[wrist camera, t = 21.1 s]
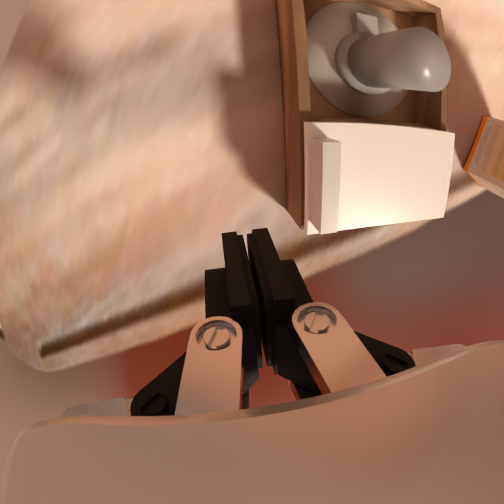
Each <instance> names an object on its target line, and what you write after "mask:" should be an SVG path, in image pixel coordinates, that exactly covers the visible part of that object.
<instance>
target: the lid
mask: <svg viewBox="0 0 504 504" xmlns="http://www.w3.org/2000/svg"><path fill="white" fill-rule="evenodd" d="M454 141H455V133H452V132H448V131H442V130H435V129H428V128H420V127H412V126H402V125H391V124H378V123H360V122H304V158H305V212H304V231H305V232H306V234H307V235H309V234H316V233H320V234H326V233H334V232H337V231H339V230H347V229H355V228H363V227H370V226H378V225H386V224H394V223H402V222H410V221H419V220H427V219H435V218H443V217H444V212H445V207H446V202H447V196H448V190H449V184H450V177H451V169H452V161H453V152H454Z"/></svg>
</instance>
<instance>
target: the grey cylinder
mask: <svg viewBox="0 0 504 504" xmlns="http://www.w3.org/2000/svg"><path fill="white" fill-rule="evenodd" d="M351 24H352V34H350V35H348V36H346V37H344V38H343V39H342V40H341V41H340V42H339V44H338V46H337V48H336V51H335V64H336V68H337V71H338V73H339V75H340V77H341V78H342V80H343V81H344V82H345V83H346V84H347V85H348V86H349V87H350V88H351V89H353V90H355V91H357V92H359V93H362V94H372V95H377V94H382V93H385V92H386V91H388V90H389V89H390V88H392V89H407V90H418V91H428V92H438V91H441V90H442V89H444V88H445V87H446V86H447V84H448V82H449V80H450V77H451V60H450V56H449V53H448V50H447V48H446V46H445V45H444V43H443V42H442V40H441V39H440V38H439V37H438V36H437V35H436V34H435V33H434V32H433V31H431V30H430V29H427V28H425V27H412V28H406V29H401V30H396V31H391V32H386V33H382V34H379V31H378V21H377V17H374V16H370V15H366V14H361V13H357V12H356V13H354V14H351Z"/></svg>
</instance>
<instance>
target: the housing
mask: <svg viewBox="0 0 504 504" xmlns="http://www.w3.org/2000/svg"><path fill="white" fill-rule="evenodd" d="M275 3H276V14H277V26H278V38H279V52H280V66H281V82H282V100H283V120H284V145H285V176H286V210H287V211H288V213H289V214H290V215H291V217H292V218H293V219H294V221H295V222H296V223H297V225H298V226H299V228H300V229H304V212H305V158H304V122H360V123H378V124H391V125H402V126H412V127H420V128H428V129H435V130H442V131H446V126H447V86H446V87H445V88H444V89H442V90H441V91H438V92H428V91H418V90H407V89H392V88H390V89H389V90H388V91H386V92H385V93H382V94H377V95H372V94H362V93H359V92H357V91H355V90H353V89H351V88H350V87H349V86H348V85H347V84H346V83H345V82H344V81H343V80H342V78H341V77H340V75H339V73H338V71H337V68H336V64H335V51H336V48H337V46H338V44H339V42H340V41H341V40H342V39H343V38H344V37H346V36H348V35H350V34H352V24H351V14H354V13H356V12H357V13H361V14H366V15H370V16H374V17H377V21H378V31H379V34H382V33H386V32H391V31H396V30H401V29H406V28H412V27H425V28H427V29H430V30H431V31H433V32H434V33H435V34H436V35H437V36H438V37H439V38H440V39H441V40H442V42H443V43H444V45H445V39H444V30H443V22H442V15H441V9H440V8H438V7H436V6H434V5H432V4H429V3H427V2H425V1H422V0H275Z"/></svg>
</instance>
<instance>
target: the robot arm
mask: <svg viewBox="0 0 504 504" xmlns="http://www.w3.org/2000/svg"><path fill="white" fill-rule="evenodd" d="M222 241H223V250H224V259H225V268H219V269H211V270H205V310H206V319H204V320H202V321H201V322H199V323H198V324H197V325H196V326H195V327H194V328H193V329H192V332H191V334H190V338H189V344H188V348H187V351H186V352H185V353H184V354H183V355H182V356H181V357H179V358H178V359H177V360H176V361H175V362H174V363H173V364H171V365H170V366H169V367H168V368H167V369H165V370H164V371H163V372H162V373H161V374H159V375H158V376H157V377H156V378H155V379H153V380H152V381H151V382H150V383H149V384H147V385H146V386H145V387H144V388H143V389H142V390H140V391H139V392H138V393H137V394H136V395H135V397H134V398H133V399H129V400H127V399H126V398H125V397H122V398H118V399H112V400H107V401H102V402H97V403H91V404H85V405H78V406H73V407H70V408H68V409H66V410H65V411H64V412H63V413H62V415H61V417H58V418H53V419H49V420H45V421H42V422H38V423H36V424H33V425H31V426H29V427H27V428H26V429H24V430H23V431H22V432H21V433H20V434H19V435H18V437H17V438H16V440H15V442H14V444H13V446H12V449H11V451H10V454H9V458H8V461H7V466H6V470H5V475H4V481H3V488H2V497H1V504H504V341H490V342H484V343H479V344H475V345H471V346H468V347H466V346H464V345H461V344H453V345H447V346H440V347H433V348H423V349H414V350H411V352H410V353H407V352H405V351H403V350H402V349H399V348H397V347H394V346H392V345H389V344H386V343H384V342H381V341H378V340H376V339H373V338H371V337H368V336H365V335H363V334H360V333H358V332H355V331H353V330H352V329H351V327H350V326H349V325H348V323H347V322H346V321H345V319H344V318H343V317H342V315H341V314H340V313H339V312H338V311H337V310H336V309H335V308H334V307H332V306H330V305H328V304H325V303H319V302H318V303H317V302H313V301H312V299H311V296H310V294H309V292H308V290H307V288H306V285H305V283H304V281H303V279H302V277H301V275H300V272H299V270H298V268H297V266H296V264H295V262H294V260H293V259H288V260H281V261H280V259H279V256H278V254H277V251H276V249H275V246H274V244H273V241H272V239H271V236H270V234H269V231H268V229H267V228H262V229H253V230H252V234H247V244H248V256H247V251H246V247H245V243H244V239H243V235H237V233H236V232H228V233H222ZM248 257H249V260H248ZM261 341H262V346H263V350H264V354H265V359H266V363H267V367H270V366H273V368H274V372H275V374H279V375H280V376H282V377H284V378H286V379H288V382H289V386H290V388H291V390H292V392H293V395H294V397H295V399H296V401H292V402H287V403H281V404H276V405H270V406H264V407H257V408H250V388H251V386H252V385H253V384H254V383H255V382H256V380H258V379H259V372H258V368H262V367H263V366H262V348H261Z"/></svg>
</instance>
